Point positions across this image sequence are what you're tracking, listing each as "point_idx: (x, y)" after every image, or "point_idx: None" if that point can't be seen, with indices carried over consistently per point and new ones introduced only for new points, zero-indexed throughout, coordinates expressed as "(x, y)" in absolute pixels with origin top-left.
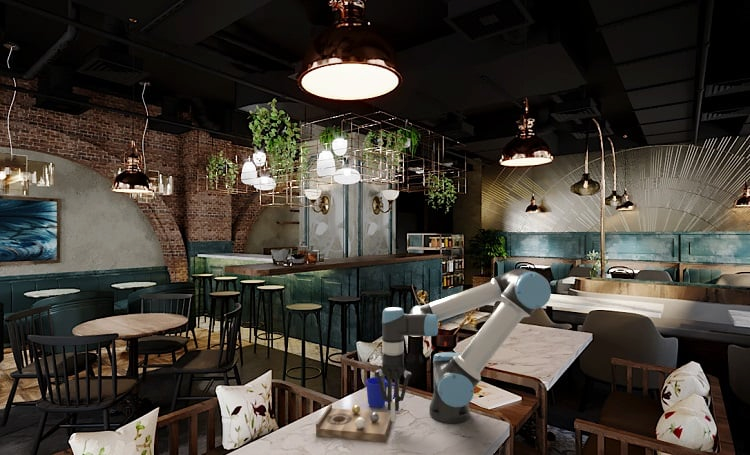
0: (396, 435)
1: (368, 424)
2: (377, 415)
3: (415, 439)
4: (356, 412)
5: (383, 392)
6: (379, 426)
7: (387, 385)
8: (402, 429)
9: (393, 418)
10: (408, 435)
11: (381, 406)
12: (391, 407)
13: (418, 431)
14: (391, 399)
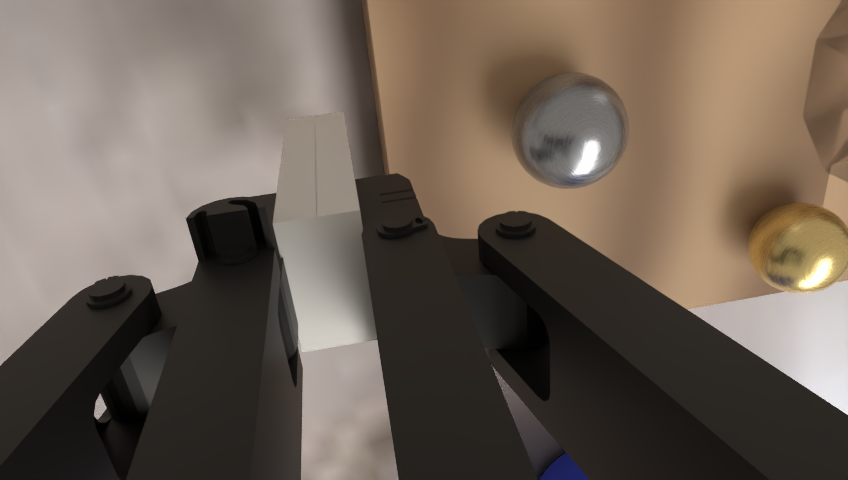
0: (255, 32)
1: (606, 31)
2: (538, 130)
3: (2, 5)
4: (783, 207)
5: (573, 286)
6: (466, 22)
7: (524, 453)
8: (239, 179)
9: (306, 127)
10: (124, 74)
11: (549, 469)
12: (340, 177)
13: (55, 192)
14: (370, 296)
